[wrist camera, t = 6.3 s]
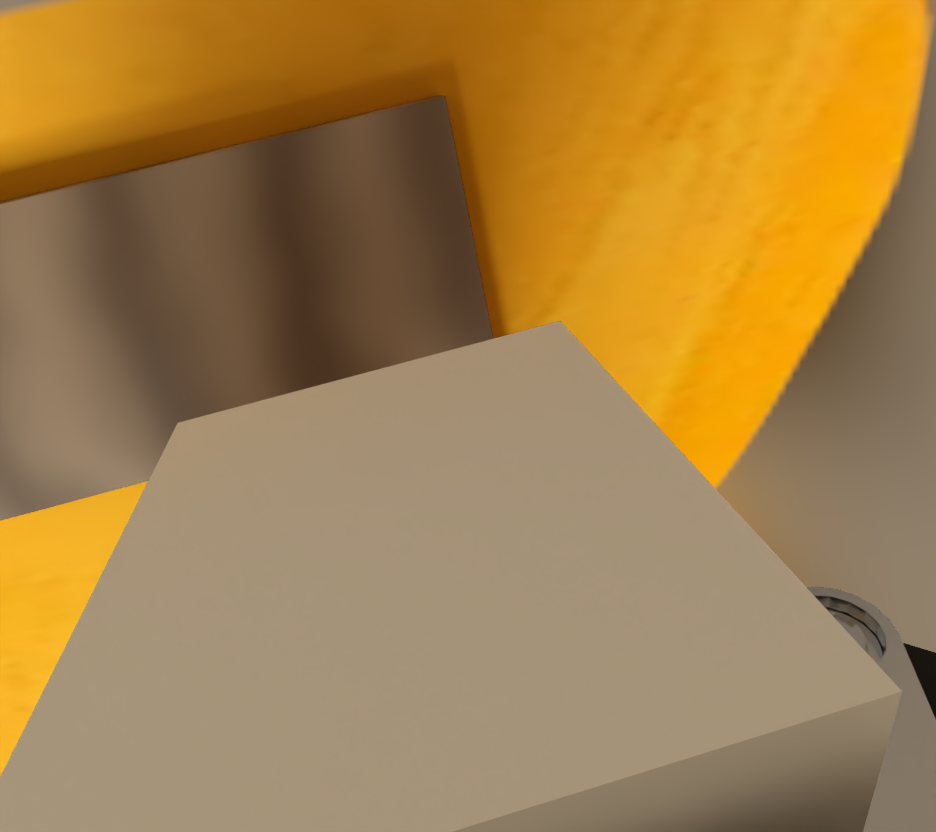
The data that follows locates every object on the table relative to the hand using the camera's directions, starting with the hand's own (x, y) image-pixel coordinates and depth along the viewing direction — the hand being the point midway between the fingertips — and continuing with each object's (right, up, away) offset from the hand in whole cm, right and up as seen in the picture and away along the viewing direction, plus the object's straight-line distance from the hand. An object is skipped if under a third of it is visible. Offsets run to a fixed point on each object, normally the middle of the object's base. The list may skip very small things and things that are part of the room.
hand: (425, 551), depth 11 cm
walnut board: (-12, +6, +14) cm, 20 cm away
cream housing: (0, 0, +1) cm, 1 cm away
